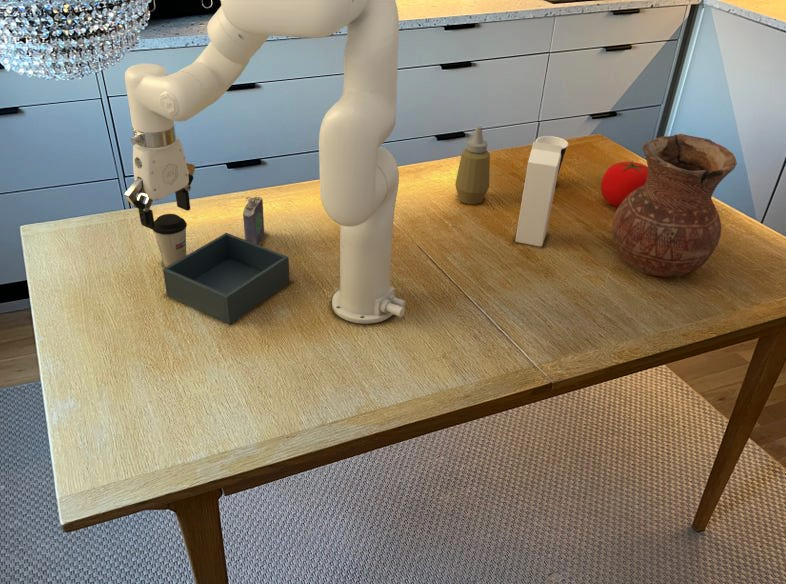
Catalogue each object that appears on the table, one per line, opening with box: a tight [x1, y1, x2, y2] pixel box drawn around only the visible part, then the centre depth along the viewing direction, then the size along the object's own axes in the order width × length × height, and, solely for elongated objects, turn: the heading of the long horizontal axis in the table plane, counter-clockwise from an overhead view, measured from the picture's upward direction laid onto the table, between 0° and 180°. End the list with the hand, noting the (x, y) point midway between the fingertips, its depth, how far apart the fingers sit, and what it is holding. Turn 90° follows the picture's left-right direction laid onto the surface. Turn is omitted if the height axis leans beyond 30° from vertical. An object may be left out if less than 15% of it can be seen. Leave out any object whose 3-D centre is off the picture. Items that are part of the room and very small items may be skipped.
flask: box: [242, 196, 266, 246], centre depth 162 cm, size 9×3×11 cm, turn 172°
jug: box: [611, 133, 738, 278], centre depth 155 cm, size 22×21×25 cm
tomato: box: [600, 160, 648, 209], centre depth 181 cm, size 12×12×10 cm
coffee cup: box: [151, 213, 188, 268], centre depth 155 cm, size 7×7×10 cm
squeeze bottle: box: [454, 125, 491, 205], centre depth 179 cm, size 8×8×18 cm
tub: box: [162, 232, 291, 325], centre depth 149 cm, size 16×18×6 cm
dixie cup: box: [535, 135, 569, 178], centre depth 189 cm, size 8×8×11 cm
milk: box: [514, 141, 562, 247], centre depth 163 cm, size 6×6×22 cm
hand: (166, 217), depth 152 cm, fingers open, 9 cm apart
